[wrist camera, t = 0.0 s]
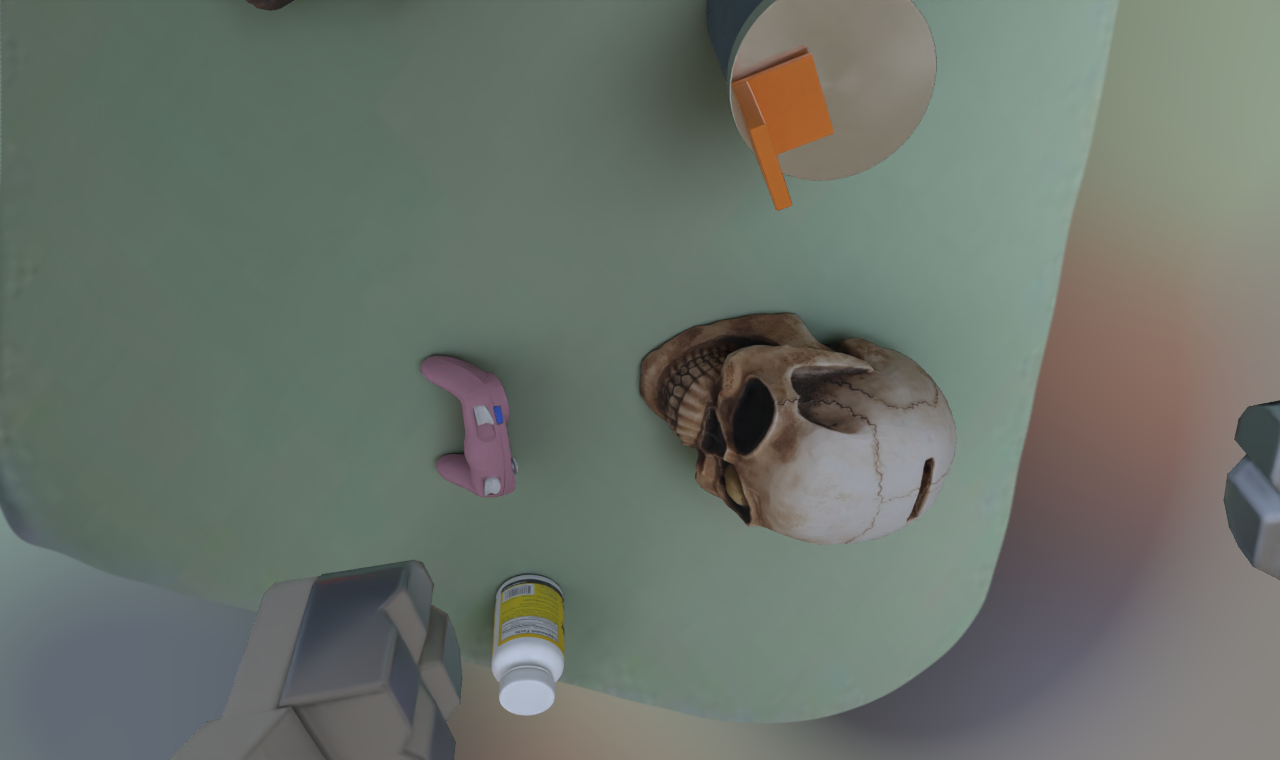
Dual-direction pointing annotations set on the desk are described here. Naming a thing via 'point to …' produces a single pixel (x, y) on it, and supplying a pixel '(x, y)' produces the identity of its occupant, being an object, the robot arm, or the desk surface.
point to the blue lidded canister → (835, 71)
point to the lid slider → (782, 116)
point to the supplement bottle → (528, 643)
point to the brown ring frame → (269, 4)
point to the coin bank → (804, 426)
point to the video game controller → (476, 428)
